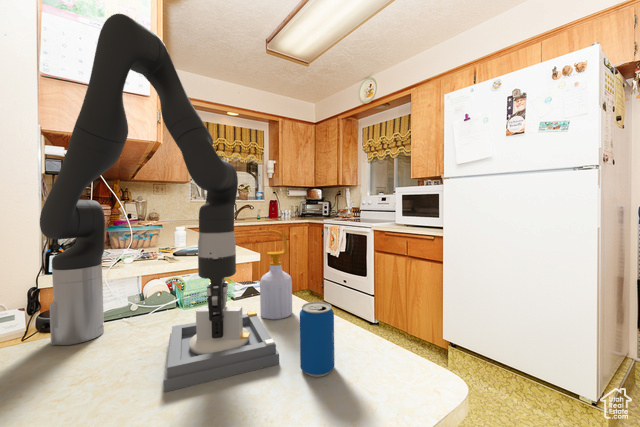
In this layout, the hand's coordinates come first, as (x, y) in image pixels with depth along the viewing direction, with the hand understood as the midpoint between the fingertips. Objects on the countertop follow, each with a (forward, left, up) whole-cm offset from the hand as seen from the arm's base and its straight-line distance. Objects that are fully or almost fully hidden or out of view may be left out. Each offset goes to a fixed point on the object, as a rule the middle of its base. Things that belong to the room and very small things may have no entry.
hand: (218, 333), depth 62 cm
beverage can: (+16, -15, -4) cm, 23 cm away
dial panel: (0, 0, -4) cm, 4 cm away
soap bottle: (+17, +16, -4) cm, 24 cm away
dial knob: (0, 0, -2) cm, 2 cm away
